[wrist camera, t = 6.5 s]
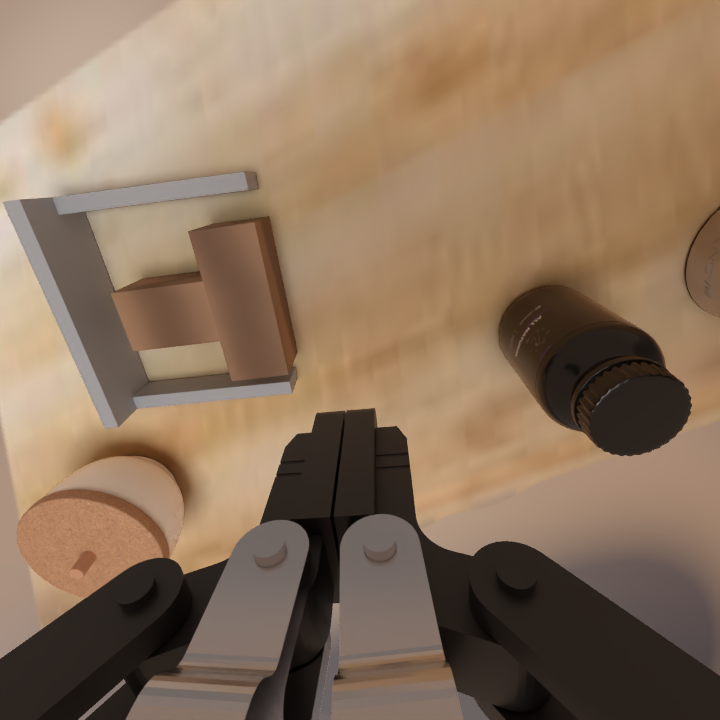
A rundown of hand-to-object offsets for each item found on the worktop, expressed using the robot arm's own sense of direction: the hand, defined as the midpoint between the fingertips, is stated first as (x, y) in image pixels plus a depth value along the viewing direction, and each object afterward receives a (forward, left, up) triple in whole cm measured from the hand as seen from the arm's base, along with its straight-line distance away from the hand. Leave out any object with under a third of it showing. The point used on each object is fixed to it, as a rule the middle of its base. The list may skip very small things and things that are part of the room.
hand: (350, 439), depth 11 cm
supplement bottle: (-13, +6, -20) cm, 25 cm away
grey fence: (+13, 0, -20) cm, 23 cm away
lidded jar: (+22, +17, -20) cm, 34 cm away
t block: (+11, 0, -20) cm, 23 cm away
